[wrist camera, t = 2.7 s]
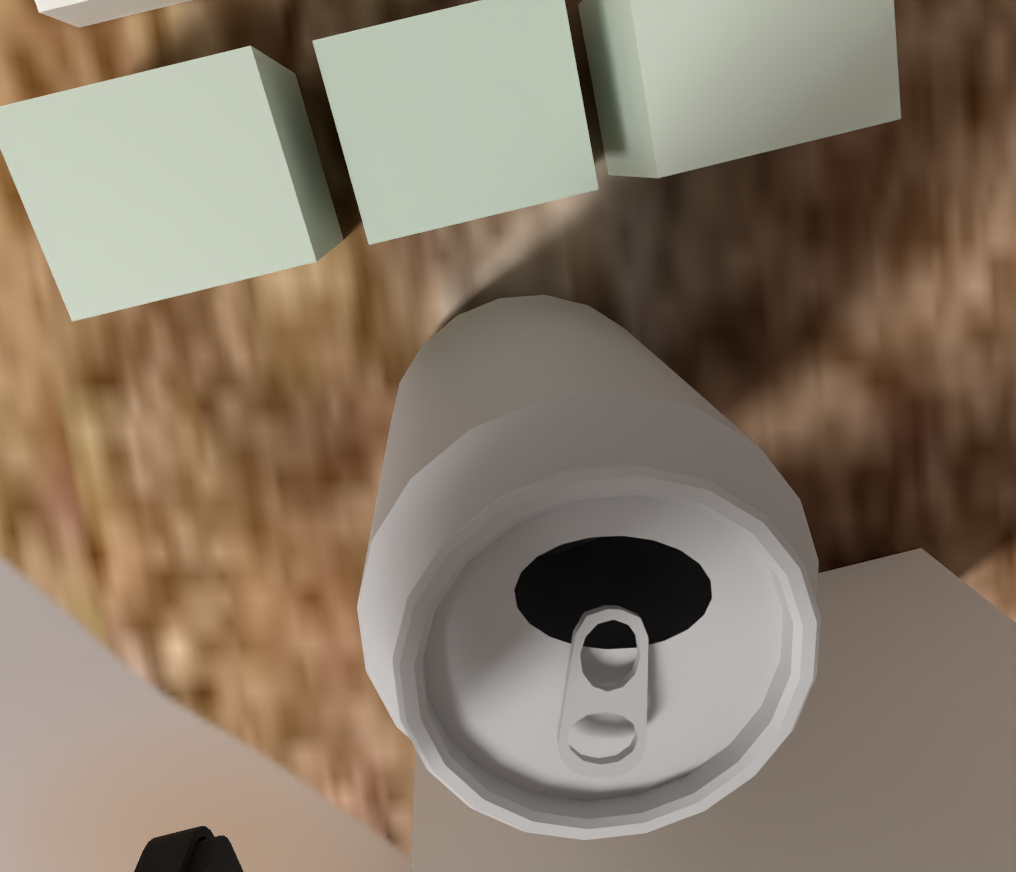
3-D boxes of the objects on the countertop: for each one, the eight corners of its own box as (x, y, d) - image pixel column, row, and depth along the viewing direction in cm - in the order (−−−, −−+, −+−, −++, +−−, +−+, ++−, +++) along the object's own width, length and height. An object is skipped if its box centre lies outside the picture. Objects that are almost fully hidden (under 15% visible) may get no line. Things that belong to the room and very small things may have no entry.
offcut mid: (336, 63, 20) (312, 40, 16) (537, 15, 20) (561, -19, 16) (381, 229, 21) (368, 244, 17) (569, 184, 21) (598, 189, 17)
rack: (61, -20, 18) (-894, -488, 5) (871, -217, 19) (1956, -1170, 5) (342, 746, 26) (241, 1367, 12) (924, 603, 26) (1440, 1068, 12)
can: (676, 300, 22) (931, 445, 11) (637, 549, 24) (813, 887, 13) (399, 278, 21) (354, 408, 10) (386, 537, 24) (338, 885, 12)
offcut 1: (94, 123, 20) (-16, 110, 15) (295, 74, 20) (250, 45, 15) (154, 285, 21) (71, 321, 16) (343, 239, 21) (316, 261, 16)
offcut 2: (577, 5, 20) (622, -46, 15) (778, -44, 20) (886, -110, 15) (608, 175, 21) (658, 178, 16) (795, 129, 21) (901, 118, 16)
